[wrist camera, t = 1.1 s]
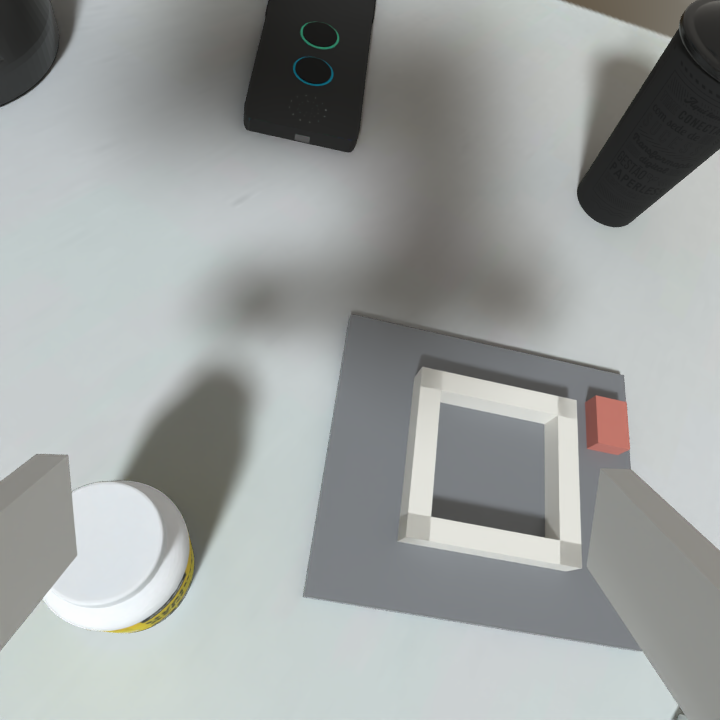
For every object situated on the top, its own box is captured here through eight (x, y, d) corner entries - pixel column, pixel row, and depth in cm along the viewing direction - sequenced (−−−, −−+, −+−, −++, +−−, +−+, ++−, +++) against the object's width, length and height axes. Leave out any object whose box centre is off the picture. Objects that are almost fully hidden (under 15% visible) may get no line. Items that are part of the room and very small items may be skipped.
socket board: (349, 318, 36) (356, 300, 34) (618, 379, 38) (639, 365, 36) (302, 597, 29) (308, 594, 27) (636, 651, 31) (664, 652, 29)
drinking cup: (587, 250, 43) (846, -26, 25) (544, 168, 45) (750, -135, 27) (669, 236, 45) (959, -25, 27) (623, 159, 48) (861, -126, 30)
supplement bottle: (168, 648, 27) (142, 654, 18) (52, 613, 27) (-31, 602, 18) (213, 531, 29) (208, 487, 21) (107, 498, 29) (58, 439, 20)
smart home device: (239, 114, 39) (282, -60, 48) (239, 133, 41) (280, -39, 50) (360, 140, 41) (380, -34, 49) (355, 159, 42) (375, -14, 51)
